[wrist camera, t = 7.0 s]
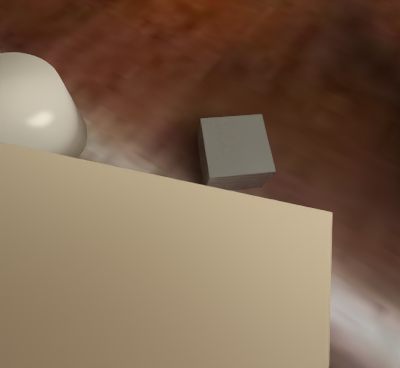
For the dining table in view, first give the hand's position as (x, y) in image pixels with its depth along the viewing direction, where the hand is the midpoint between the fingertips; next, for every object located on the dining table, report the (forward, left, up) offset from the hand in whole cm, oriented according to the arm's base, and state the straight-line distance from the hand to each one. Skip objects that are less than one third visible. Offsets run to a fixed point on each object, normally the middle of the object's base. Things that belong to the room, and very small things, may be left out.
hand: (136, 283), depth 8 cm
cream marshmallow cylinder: (+8, +10, -9) cm, 16 cm away
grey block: (+9, -3, -9) cm, 13 cm away
